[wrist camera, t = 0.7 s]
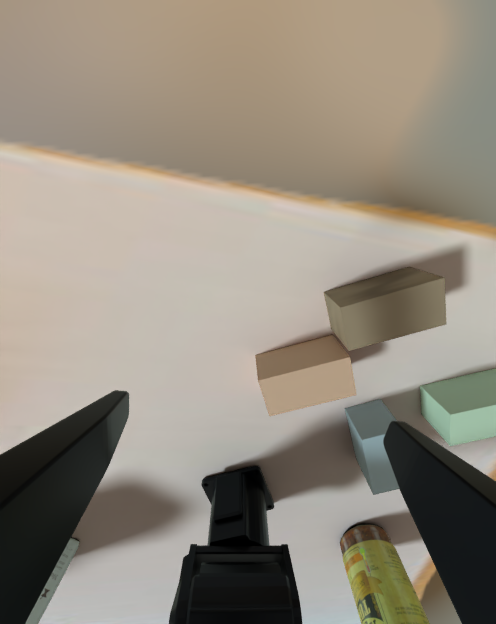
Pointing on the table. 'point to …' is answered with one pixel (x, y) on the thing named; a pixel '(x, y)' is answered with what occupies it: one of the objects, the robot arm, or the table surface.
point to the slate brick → (372, 443)
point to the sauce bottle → (379, 578)
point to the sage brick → (462, 407)
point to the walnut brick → (386, 307)
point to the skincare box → (53, 582)
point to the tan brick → (305, 375)
